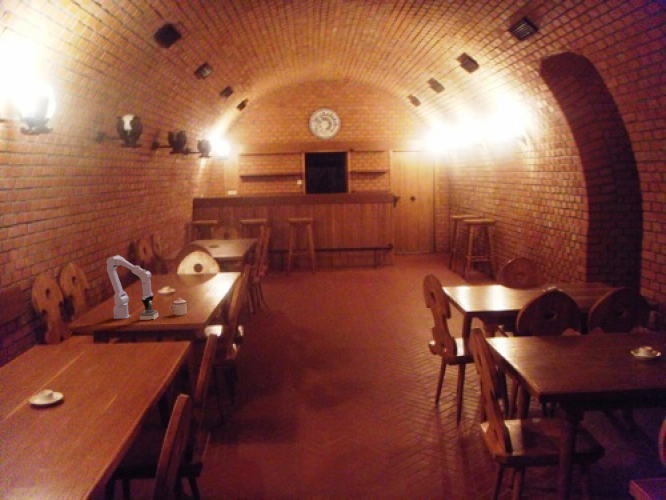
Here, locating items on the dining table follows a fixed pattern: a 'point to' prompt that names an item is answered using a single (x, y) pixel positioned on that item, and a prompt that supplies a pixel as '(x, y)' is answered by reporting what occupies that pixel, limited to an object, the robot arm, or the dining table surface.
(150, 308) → the gray domed cylinder
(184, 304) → the teacup with lid
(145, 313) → the grey square tray
